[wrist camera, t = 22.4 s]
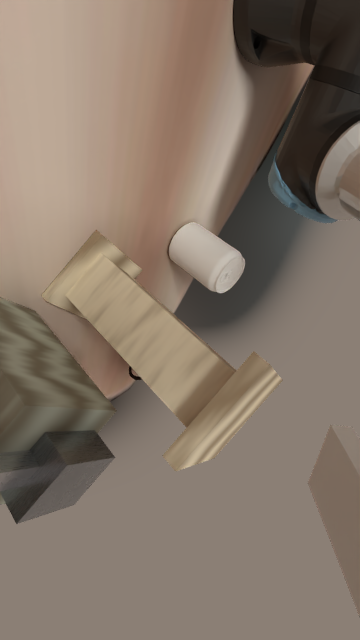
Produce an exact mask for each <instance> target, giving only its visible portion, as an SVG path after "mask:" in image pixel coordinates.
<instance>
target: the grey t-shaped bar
mask: <svg viewBox="0 0 360 640" xmlns="http://www.w3.org/2000/svg"><path fill="white" fill-rule="evenodd" d="M114 458H115V457H114V455H113V454H112V453H111V451H110V450H109V449H108V447H107V446H106V445H105V444H104V442H103V441H102V439H101V438H100V437H99V435H98V434H97V433H96V431H95V430H87V431H54V432H44V434H43V435H42V436H41V437H40V438H39V439H38V441H37V442H36V443H35V444H34V445H33V446H32V448H31V449H30V450H25V451H14V452H3V453H0V493H1V495H2V497H3V499H4V501H5V503H6V505H7V506H8V509H9V510H10V512H11V514H12V516H13V518H14V520H15V522H16V524H18V523H21V522H24V521H27V520H30V519H33V518H36V517H39V516H42V515H45V514H48V513H51V512H54V511H57V510H60V509H63V508H66V507H69V506H72V505H74V504H75V503H76V502H77V501H78V499H79V498H80V497H81V496H82V495H83V494H84V493H85V492H86V490H87V489H88V488H89V487H90V486H91V485H92V483H93V482H94V481H95V480H96V479H97V478H98V477H99V475H100V474H101V473H102V472H103V471H104V469H105V468H106V467H107V466H108V465H109V464H110V463H111V462H112V460H113V459H114Z"/></svg>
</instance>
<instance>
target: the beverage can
mask: <svg viewBox="0 0 360 640" xmlns="http://www.w3.org/2000/svg"><path fill="white" fill-rule="evenodd" d="M169 256H170V259H171V260H172V261H174V262H175V263H176V264H177V265H179V266H180V267H181V268H182V269H184V270H185V271H186V272H187V273H189V274H190V275H191V276H193V277H194V278H195V279H197V280H198V281H199V282H200V283H201V284H203V285H204V286H205V287H207V288H208V289H209V290H211V291H214V292H218V293H224V292H226V291H227V290H229V289H230V288H231V287H232V286H233V285H234V284H235V283H236V282H237V281H238V279H239V277H240V276H241V274H242V272H243V270H244V267H245V260H244V258H243V257H242V255H241V253H240V252H239V251H238V250H236V249H235V248H233V247H232V246H230V245H229V244H227V243H226V242H224V241H223V240H221V239H220V238H219V237H217V236H216V235H214V234H213V233H211V232H210V231H208V230H207V229H205V228H204V227H202V226H201V225H199V224H198V223H195V222H191V223H188V224H186V225H184V226H183V227H181V228H180V229H179V230H178V231H177V232H176V234H175V235H174V237H173V239H172V241H171V243H170V246H169Z"/></svg>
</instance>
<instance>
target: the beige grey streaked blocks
mask: <svg viewBox="0 0 360 640" xmlns="http://www.w3.org/2000/svg"><path fill="white" fill-rule="evenodd" d="M141 271H142V269H141V268H140V267H138V266H137V265H136V264H135V263H134V262H133V261H132V260H130V259H129V258H128V257H127V256H126V255H125V254H124V253H122V252H121V251H120V250H119V249H118V248H117V247H116V246H114V245H113V244H112V243H111V242H110V241H109V240H107V239H106V238H105V237H104V236H103V235H102V234H101V233H99V232H98V231H97V230H96V231H95V232H94V233H93V234H92V236H91V237H90V238H89V239H88V240H87V242H86V243H85V244H84V245H83V246H82V247H81V249H80V250H79V251H78V252H77V253H76V255H75V256H74V257H73V258H72V259H71V261H70V262H69V263H68V264H67V265H66V267H65V268H64V269H63V270H62V271H61V272H60V274H59V275H58V276H57V277H56V278H55V280H54V281H53V282H52V283H51V284H50V286H49V287H48V288H47V289H46V290H45V292H44V293H43V294H42V295H41V296H42V297H43V298H44V299H45V300H46V302H49V303H51V304H53V305H55V306H58V307H60V308H62V309H64V310H66V311H69V312H71V313H73V314H75V315H78V316H80V317H82V318H84V319H87V320H88V321H89V322H90V323H91V324H92V325H93V326H94V327H95V328H96V329H97V330H98V332H99V333H100V334H101V335H102V336H103V337H104V338H105V339H106V340H107V341H108V342H109V343H110V345H111V346H112V347H113V348H114V349H115V350H116V351H117V352H118V353H119V354H120V355H121V357H122V358H123V359H124V360H125V361H126V362H127V363H128V364H129V365H130V366H131V367H132V369H133V370H134V371H135V372H136V373H137V374H138V375H139V376H140V377H141V378H142V379H143V380H144V382H146V384H148V386H149V387H150V388H151V389H152V390H153V391H154V392H155V393H156V395H157V396H158V397H159V398H160V399H161V400H162V401H163V402H164V403H165V404H166V405H167V407H168V408H169V409H170V410H171V411H172V412H173V413H174V414H175V415H176V416H177V417H178V418H179V420H180V421H181V422H182V423H183V424H184V425H185V426H186V427H187V428H186V429H185V431H184V432H183V433H182V434H181V435H180V436H179V437H178V438H177V440H176V441H175V442H174V443H173V444H172V445H171V446H170V448H169V449H168V450H167V451H166V452H165V453H164V455H163V457H164V458H165V459H166V461H167V462H168V463H169V464H170V465H171V467H172V468H173V469H174V470H175V471H178V470H181V469H184V468H187V467H190V466H193V465H196V464H198V463H202V462H204V461H207V460H210V459H213V458H215V457H216V455H217V454H218V453H219V452H220V451H221V450H222V448H223V447H224V446H225V445H226V444H227V443H228V442H229V441H230V440H231V438H232V437H233V436H234V435H235V434H236V433H237V432H238V430H239V429H240V428H241V427H242V426H243V425H244V424H245V422H246V421H247V420H248V419H249V418H250V417H251V416H252V415H253V413H254V412H255V411H256V410H257V409H258V408H259V407H260V406H261V404H262V403H263V402H264V401H265V400H266V399H267V398H268V396H269V395H270V394H271V393H272V392H273V391H274V389H275V388H276V387H277V386H278V385H279V384H280V383H281V382H282V379H281V378H280V376H279V375H278V374H277V373H276V372H275V371H274V369H273V368H272V367H271V365H270V364H269V363H267V362H266V361H265V360H264V359H263V358H261V357H260V356H259V355H258V354H257V353H255V352H253V353H252V354H251V355H250V356H249V357H248V358H247V360H246V361H245V362H244V363H243V364H242V365H241V366H240V368H239V369H238V370H236V369H234V368H233V367H232V366H231V365H230V364H229V363H228V362H226V361H225V360H224V359H223V358H222V357H221V356H220V355H219V354H218V353H216V352H215V351H214V350H213V349H212V348H211V347H210V346H209V345H207V344H206V343H205V342H204V341H203V340H202V339H201V338H200V337H198V336H197V335H196V334H195V333H194V332H193V331H192V330H191V329H190V328H188V327H187V326H186V325H185V324H184V323H183V322H182V321H180V320H179V319H178V318H177V317H176V316H175V315H174V314H173V313H172V312H170V311H169V310H168V309H167V308H166V307H165V306H164V305H163V304H161V303H160V302H159V301H158V300H157V299H156V298H155V297H154V296H153V295H151V294H150V293H149V292H148V291H147V290H146V289H145V288H144V287H142V286H141V285H140V284H139V283H138V282H137V281H136V280H135V278H136V277H137V276H138V275H139V274H140V272H141ZM115 412H116V410H115V408H114V407H113V406H112V404H111V403H110V402H109V401H108V399H107V398H106V397H105V396H104V395H103V393H102V392H101V391H100V390H99V388H98V387H97V386H96V385H95V384H94V382H93V381H92V380H91V379H90V377H89V376H88V375H87V374H86V373H85V371H84V370H83V369H82V368H81V366H80V365H79V364H78V363H77V362H76V360H75V359H74V358H73V357H72V355H71V354H70V353H69V352H68V351H67V349H66V348H65V347H64V346H63V345H62V343H61V342H60V341H59V340H58V338H57V337H56V336H55V335H54V334H53V332H52V331H51V330H50V329H49V327H48V326H47V325H46V324H45V323H44V321H43V320H42V319H41V318H40V316H39V315H38V314H37V313H36V312H35V311H34V310H31V309H29V308H26V307H24V306H21V305H19V304H16V303H13V302H11V301H8V300H6V299H3V298H1V297H0V453H3V452H14V451H25V450H30V449H31V448H32V446H33V445H34V444H35V443H36V442H37V441H38V439H39V438H40V437H41V436H42V435H43V434H44V432H54V431H87V430H95V431H96V433H98V432H99V431H100V430H101V429H102V427H103V426H104V425H105V424H106V423H107V422H108V420H109V419H110V418H111V417H112V416H113V415H114V414H115ZM2 504H6V503H5V501H4V499H3V497H2V495H1V493H0V505H2Z"/></svg>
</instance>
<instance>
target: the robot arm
mask: <svg viewBox="0 0 360 640" xmlns="http://www.w3.org/2000/svg"><path fill="white" fill-rule="evenodd" d="M234 29H235V36H236V40H237V44H238V47H239V49H240V51H241V53H242V55H243V56H244V58H245V59H246V60H248V61H249V62H251V63H254V64H257V65H260V66H263V67H276V66H283V65H290V64H298V63H309V64H312V65H315V67H314V69H313V71H312V74H311V76H310V78H309V81H308V83H307V85H306V88H305V90H304V92H303V94H302V97H301V99H300V102H299V104H298V106H297V108H296V110H295V113H294V115H293V117H292V119H291V121H290V124H289V126H288V128H287V130H286V133H285V135H284V137H283V139H282V141H281V144H280V146H279V148H278V150H277V151H276V153H275V155H274V159H273V164H272V167H271V169H270V172H269V175H268V184H269V187H270V189H271V191H272V193H273V194H274V195H275V197H276V198H277V199H278V200H279V201H280V202H282V203H283V204H284V205H286V206H287V207H289V208H293V209H294V210H295V212H297V213H298V214H300V215H302V216H304V217H306V218H308V219H311V220H314V221H317V222H322V223H333V222H336V221H337V220H350V219H354V218H356V219H358V220H359V221H360V0H235V1H234ZM308 485H309V487H310V490H311V493H312V495H313V498H314V500H315V503H316V505H317V508H318V511H319V513H320V516H321V518H322V521H323V524H324V526H325V529H326V531H327V534H328V536H329V539H330V542H331V544H332V547H333V549H334V552H335V554H336V557H337V560H338V562H339V565H340V567H341V570H342V573H343V575H344V578H345V580H346V583H347V586H348V588H349V591H350V593H351V596H352V599H353V601H354V603H355V606H356V609H357V611H358V614H359V617H360V438H359V437H358V435H357V433H356V432H355V430H354V429H353V427H347V426H339V425H330V427H329V430H328V432H327V435H326V438H325V441H324V443H323V445H322V448H321V450H320V453H319V456H318V458H317V461H316V464H315V466H314V469H313V471H312V474H311V476H310V479H309V481H308Z"/></svg>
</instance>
